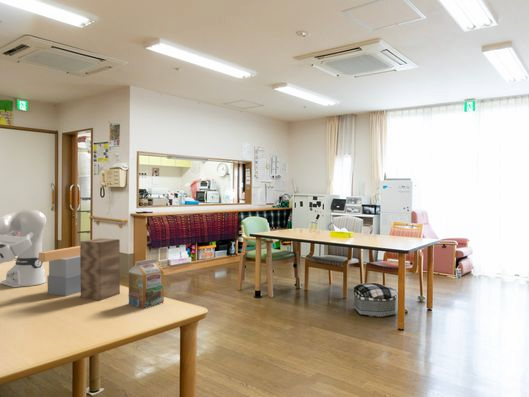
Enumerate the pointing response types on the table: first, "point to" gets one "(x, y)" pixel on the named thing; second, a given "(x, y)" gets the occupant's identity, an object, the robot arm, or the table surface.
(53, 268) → the slate pedestal
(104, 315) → the table surface
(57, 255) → the orange bar
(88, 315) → the table surface
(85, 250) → the walnut post
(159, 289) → the milk carton
